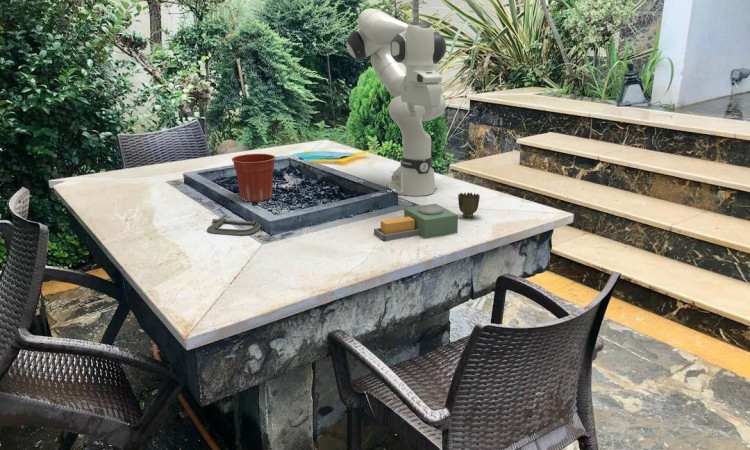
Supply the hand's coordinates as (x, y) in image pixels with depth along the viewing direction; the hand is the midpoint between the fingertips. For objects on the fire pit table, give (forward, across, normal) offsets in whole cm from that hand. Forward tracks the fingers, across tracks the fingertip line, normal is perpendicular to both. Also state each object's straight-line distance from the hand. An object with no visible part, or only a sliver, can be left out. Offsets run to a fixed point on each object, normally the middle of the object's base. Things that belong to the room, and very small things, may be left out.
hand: (419, 118), depth 188 cm
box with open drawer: (+34, +12, -8) cm, 37 cm away
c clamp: (+35, -20, -59) cm, 71 cm away
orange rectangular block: (+34, +12, -14) cm, 39 cm away
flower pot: (+34, -50, -44) cm, 75 cm away
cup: (+34, +7, +16) cm, 39 cm away
